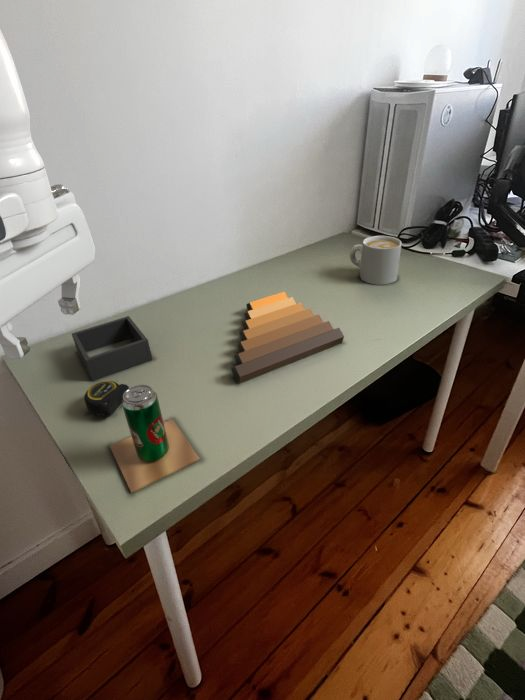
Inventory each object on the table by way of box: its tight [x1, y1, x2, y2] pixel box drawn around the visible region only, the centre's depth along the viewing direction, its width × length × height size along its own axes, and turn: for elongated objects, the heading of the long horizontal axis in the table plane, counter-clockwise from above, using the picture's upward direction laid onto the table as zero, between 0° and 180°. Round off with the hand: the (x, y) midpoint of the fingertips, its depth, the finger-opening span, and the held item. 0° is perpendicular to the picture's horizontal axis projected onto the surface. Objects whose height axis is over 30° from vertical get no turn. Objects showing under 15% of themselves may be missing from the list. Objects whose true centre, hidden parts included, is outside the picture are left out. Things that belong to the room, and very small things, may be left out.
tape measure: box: [83, 380, 130, 417], centre depth 78 cm, size 7×7×4 cm
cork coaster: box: [109, 418, 201, 494], centre depth 69 cm, size 11×11×1 cm
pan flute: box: [231, 291, 345, 385], centre depth 96 cm, size 25×3×25 cm
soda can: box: [121, 384, 169, 462], centre depth 66 cm, size 5×5×12 cm
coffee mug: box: [349, 235, 402, 286], centre depth 118 cm, size 13×10×10 cm
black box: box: [71, 315, 153, 382], centre depth 92 cm, size 13×13×5 cm
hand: (47, 331), depth 48 cm, fingers open, 8 cm apart
